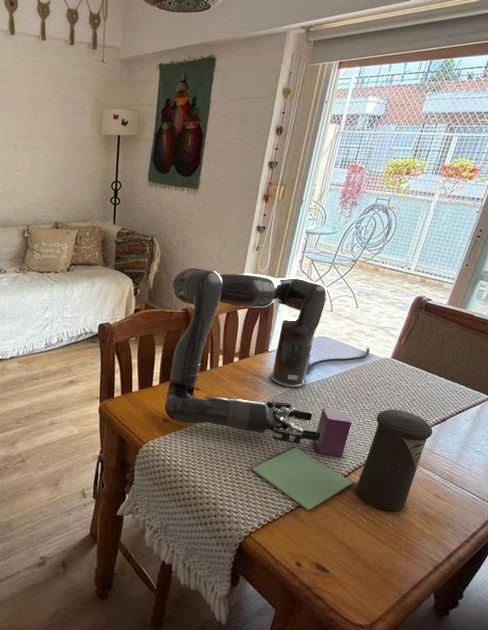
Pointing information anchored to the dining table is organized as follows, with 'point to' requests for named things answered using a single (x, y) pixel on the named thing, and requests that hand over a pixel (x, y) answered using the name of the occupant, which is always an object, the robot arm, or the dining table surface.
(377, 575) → the dining table surface
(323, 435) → the block
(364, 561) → the dining table surface
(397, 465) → the container
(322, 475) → the mat
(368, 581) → the dining table surface
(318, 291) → the robot arm
